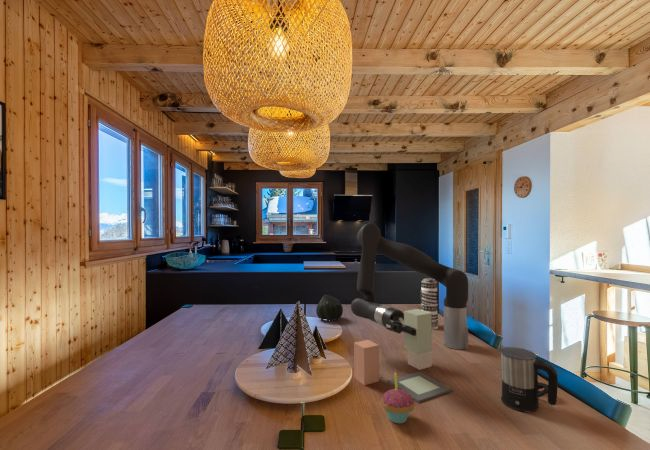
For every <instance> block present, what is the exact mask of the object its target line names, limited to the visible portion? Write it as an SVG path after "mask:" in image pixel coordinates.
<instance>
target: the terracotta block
mask: <svg viewBox="0 0 650 450" xmlns="http://www.w3.org/2000/svg"><path fill="white" fill-rule="evenodd" d="M353 361H354V363H353V370H354V371H353V375H354V377H353V378H354V379H355V380H357V382H360V384H362V385H363V386H367V385H370V384H374V383H376V382H377V383H378V382H380V345H379V344H378V343H376V342H374V341H372V340H370V339H365V340H360V341H355V342H353Z"/></svg>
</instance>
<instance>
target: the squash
mask: <svg viewBox="0 0 650 450" xmlns="http://www.w3.org/2000/svg"><path fill="white" fill-rule="evenodd" d="M343 313H344V311H343V305H342V302H341V301H340V300H339V299H337V298H336V297H334V296H331V295H330V294H324V295H323V296H322V297H321V299H320V301H318V303H317V306H316V315H317V317H318V318H319V319H320V318H321V319H327V320H330V321H331V322H333V321H337V320H339V319H340V318H341V317H342V315H343ZM321 319H320V320H321Z"/></svg>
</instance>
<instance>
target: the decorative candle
mask: <svg viewBox="0 0 650 450" xmlns="http://www.w3.org/2000/svg"><path fill="white" fill-rule="evenodd" d="M420 282H421V287H420V288H421V289H420V291H419V295H420V304H421V310H423V311H426V312H429V313H431V327H432V330H437V329H439V326H438V325H439V320H438V319H439V313H438V305H439V302H438V301H439V298H438V297H439V295H438V294H439V290H438V287H437V283H438V281H436V280H435V279H433V278H432V277H425V278H423V279H422V280H421V281H420Z"/></svg>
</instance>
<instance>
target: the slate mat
mask: <svg viewBox="0 0 650 450" xmlns="http://www.w3.org/2000/svg"><path fill="white" fill-rule="evenodd" d="M387 383H388V384H390V385H391V386H393V387H394V388H395V377H394V378H392V379H388V380H387ZM397 384H398V389H401V390H403V391H405V392H407V393H409V394H410V396H411V397H412V398H413V400H414V402H417V403H418V404H419V403H421V402H424V401H427V400H430V399H433V398H436V397H439V396H442V395H445V394H447V393H451V392H453V390H452V388H451V387H449V386H447V385H445V384H443V383H441V382H439V381H438V380H437V379H434V378H432V377H431V376H428V375H426V374H424V373H423V372H421V371H416V372H412V373H409V374H405V375H402V376H397Z"/></svg>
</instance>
